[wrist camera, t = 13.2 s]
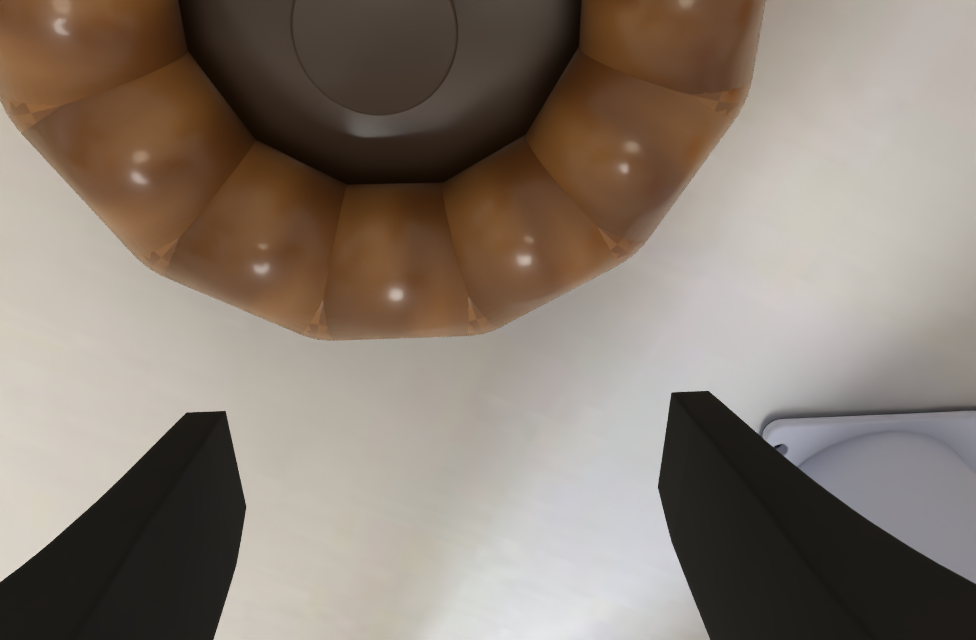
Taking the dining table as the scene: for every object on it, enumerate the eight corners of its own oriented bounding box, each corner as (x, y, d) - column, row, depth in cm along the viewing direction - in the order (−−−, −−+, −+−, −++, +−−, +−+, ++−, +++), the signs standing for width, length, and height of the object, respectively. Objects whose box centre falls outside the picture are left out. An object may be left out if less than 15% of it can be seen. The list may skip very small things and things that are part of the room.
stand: (594, 182, 21) (656, 302, 15) (208, 192, 20) (123, 321, 14) (627, -297, 15) (741, -386, 10) (112, -302, 15) (-77, -398, 9)
